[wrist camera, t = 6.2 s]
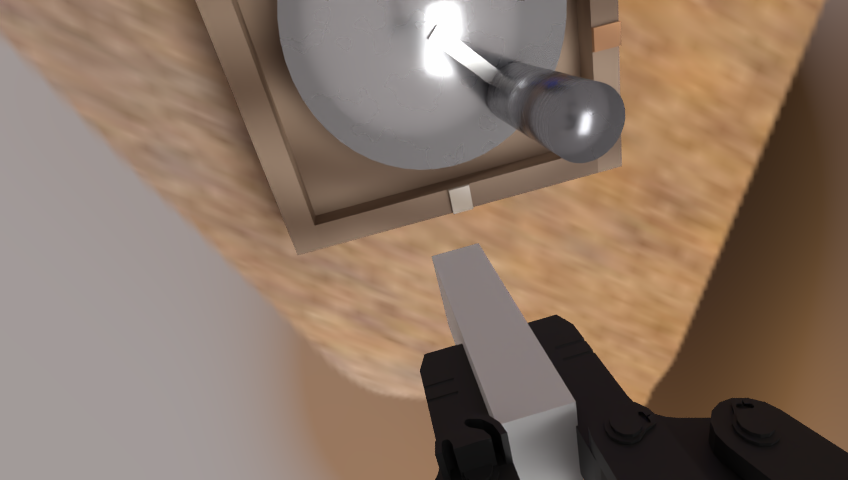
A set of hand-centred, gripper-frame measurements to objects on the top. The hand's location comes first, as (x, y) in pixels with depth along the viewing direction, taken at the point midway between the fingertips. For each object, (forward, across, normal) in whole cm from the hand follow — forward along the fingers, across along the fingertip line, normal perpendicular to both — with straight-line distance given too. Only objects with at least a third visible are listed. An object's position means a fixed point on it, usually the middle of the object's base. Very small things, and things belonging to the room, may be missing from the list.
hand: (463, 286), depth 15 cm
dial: (+14, +3, +7) cm, 16 cm away
